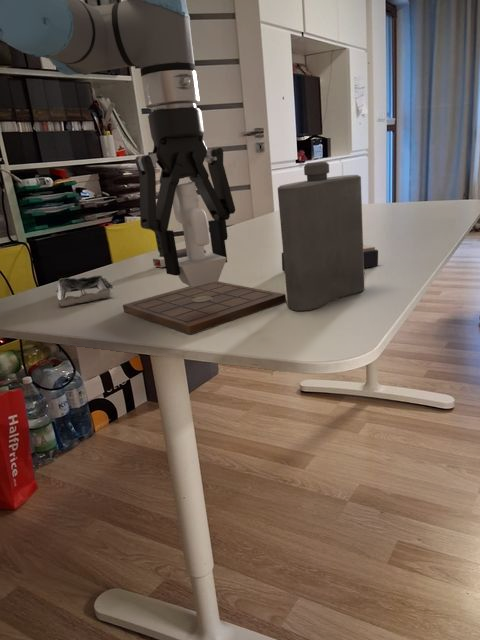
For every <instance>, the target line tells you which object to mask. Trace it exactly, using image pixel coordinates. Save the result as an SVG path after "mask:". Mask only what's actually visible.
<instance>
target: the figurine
mask: <svg viewBox="0 0 480 640" xmlns="http://www.w3.org/2000/svg"><path fill="white" fill-rule="evenodd" d="M199 202H200V198H199V192H198V193H197V188H196V186H195V182H192V181H188V182H187V183H186V182H184V183H180V184H178V185H177V186H176V190H175V195H174V200H173V205H172V209H173V214H174V218H175V220H176V221H177V222H178V223H179V224H181V227H182V231H183V238H184V245H185V248H186V251H187V257H182V258H178V263H179V269H180V275H177V277H178V279H180V281H181V282H182V283H183V284H184V285H187V287H188V286H190V287H195V286H200V285H204V284H209V283H214V282H218V281H219V279H220V277H221V274H222V272H223V269H224V266H225V264H226V263H227V262H226V259H227V260H228V257H227V258H226V257H223V256H220V255H217V254H214V253H213V252H206V253H204V250H205V248H204V246H207V245H209V244H211V237H210V230H209V223H208V221H209V220H208V216H207V214H206V211H205V210H204V209H203V208H201V207H200V204H199ZM225 262H226V263H225Z"/></svg>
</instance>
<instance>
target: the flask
mask: <svg viewBox="0 0 480 640" xmlns="http://www.w3.org/2000/svg"><path fill="white" fill-rule="evenodd" d="M303 173H304V174H303V175H304V176H306V180H303V181H296V182H292V183H291V182H290V183H286V184H282V185H279V186H278V187H277V199H278V210H279V220H280V231H281V232H280V233H281V242H282V243H281V245H282V253H283V256H284V268H285V271H284V278H285V287H286V288H285V290H286V302H287V307H288V309H290V310H292V311H294V312H295V311H296V312H308V311H312V310H316V309H318V308H319V307H322V306H324V305H326V304H328V303H330V302H333V301H336V300H338V299H341V298H344V297H348V296H351V295H355V294H359V293H361V292H363V291H364V290H365V268H364V257H363V245H364V234H363V233H364V232H363V231H364V229H363V201H362V200H363V199H362V198H363V197H362V176H361V175H359V174H346V175H337V176H336V175H335V176H328V174H329V173H330V163H329V162H328V161H315V162H306V164H304V166H303Z"/></svg>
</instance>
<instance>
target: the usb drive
mask: <svg viewBox="0 0 480 640" xmlns="http://www.w3.org/2000/svg"><path fill="white" fill-rule="evenodd" d="M176 251H177V257H178V258H182V257H187V251H186V247H185V248H179V249H176ZM204 253H207V250H206V249H204ZM152 262H153V263H152V264H153V266H154V267H157V268H166V266H165V261H164V255H163V254H160V253H159V256H157V257H153V258H152Z"/></svg>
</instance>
